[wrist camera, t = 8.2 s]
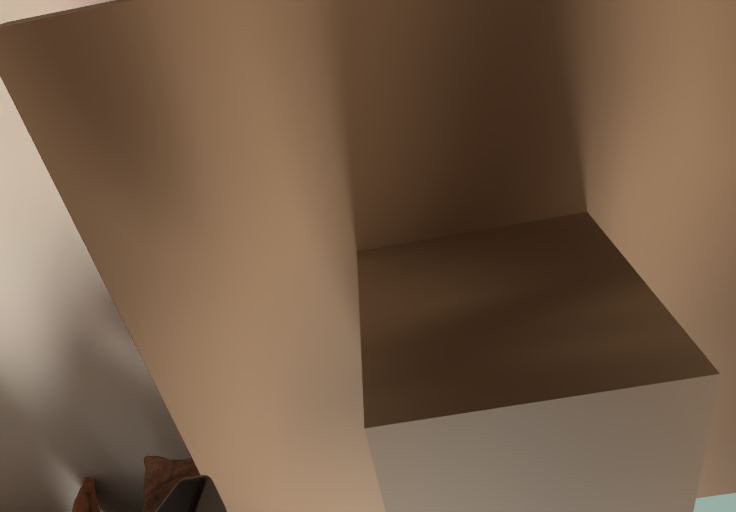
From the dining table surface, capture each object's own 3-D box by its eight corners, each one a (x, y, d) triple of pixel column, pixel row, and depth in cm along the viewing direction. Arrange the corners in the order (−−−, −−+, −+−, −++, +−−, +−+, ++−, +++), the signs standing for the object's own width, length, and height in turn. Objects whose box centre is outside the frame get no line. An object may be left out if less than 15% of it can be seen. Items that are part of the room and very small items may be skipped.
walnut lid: (902, -159, 8) (1516, -236, 4) (745, 461, 15) (905, 677, 10) (7, 22, 9) (-300, 122, 4) (249, 533, 15) (214, 761, 11)
